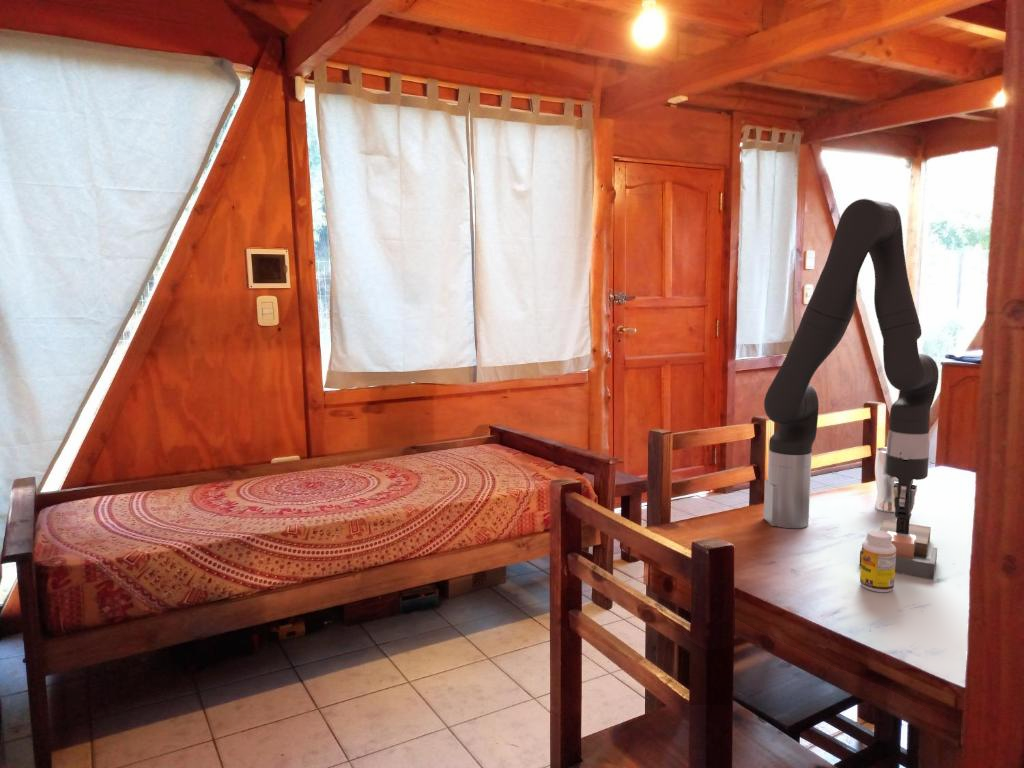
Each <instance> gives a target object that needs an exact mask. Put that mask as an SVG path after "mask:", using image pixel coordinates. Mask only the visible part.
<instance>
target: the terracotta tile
mask: <svg viewBox="0 0 1024 768" xmlns="http://www.w3.org/2000/svg"><path fill="white" fill-rule="evenodd" d="M891 535H892V544H893V545H894V546H895V547H896V556H898V557H904V558H910V559H914V546H915V538H913V537H906V536H900V535H894V534H891Z"/></svg>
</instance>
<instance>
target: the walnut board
mask: <svg viewBox="0 0 1024 768" xmlns="http://www.w3.org/2000/svg"><path fill="white" fill-rule="evenodd" d="M882 521H883V522H882V523H881V526H880V529H879V531H884V532H887V533H888V531H889V532H895V533H896V524H897V521H893V520H885V519H883V520H882ZM908 535H914V536H916V542H915V551H914V556H919V557H925V558H928V557H927V556H928V551H929V547H930V542H931V526H927V525H920V524H912V523H909V534H908Z"/></svg>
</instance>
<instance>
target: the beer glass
mask: <svg viewBox="0 0 1024 768" xmlns="http://www.w3.org/2000/svg"><path fill="white" fill-rule="evenodd" d="M886 449H887V446H885V447H883V446H882V447H878V448H876V453H875V454H876V455H875V461H874V475H875V476H874V477H875V483H876V491H877V495H876V501H875V504H874V509H875V510H876V511H879V512H882V513H889V514H895V507H894V493H893V487H894V485H895V482H898V478H896V477H891V476H889V475H887V474H886V472H885V466H886Z"/></svg>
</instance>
